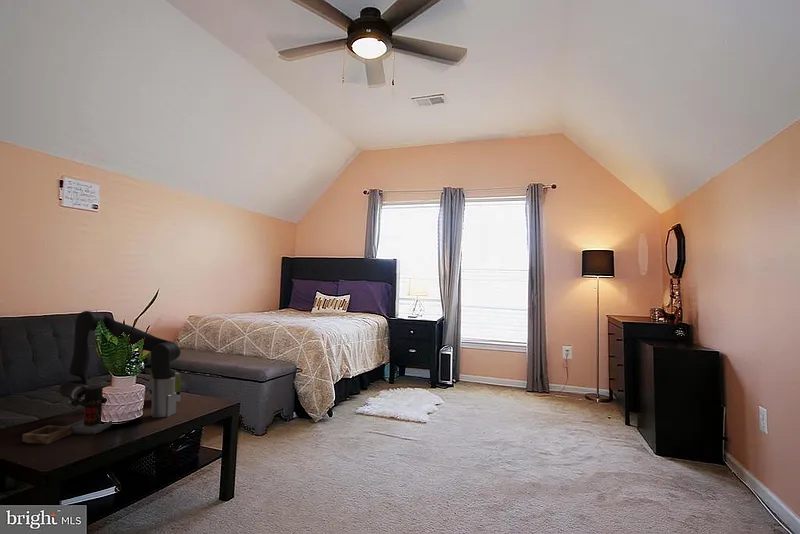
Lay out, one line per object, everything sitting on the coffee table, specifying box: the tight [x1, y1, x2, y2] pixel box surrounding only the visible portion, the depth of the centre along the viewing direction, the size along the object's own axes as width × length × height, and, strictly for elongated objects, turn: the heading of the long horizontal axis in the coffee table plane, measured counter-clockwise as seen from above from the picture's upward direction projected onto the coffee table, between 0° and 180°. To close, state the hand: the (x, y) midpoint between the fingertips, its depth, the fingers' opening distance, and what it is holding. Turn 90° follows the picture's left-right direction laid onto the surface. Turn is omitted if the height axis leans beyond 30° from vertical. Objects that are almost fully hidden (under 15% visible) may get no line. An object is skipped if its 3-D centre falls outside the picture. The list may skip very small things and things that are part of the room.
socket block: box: [21, 425, 72, 445], centre depth 164 cm, size 10×10×3 cm
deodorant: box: [83, 385, 104, 426], centre depth 176 cm, size 6×6×15 cm
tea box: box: [148, 371, 182, 403], centre depth 218 cm, size 15×10×15 cm, turn 50°
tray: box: [67, 419, 112, 435], centre depth 176 cm, size 13×13×2 cm
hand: (95, 402), depth 175 cm, fingers closed on deodorant, 6 cm apart
